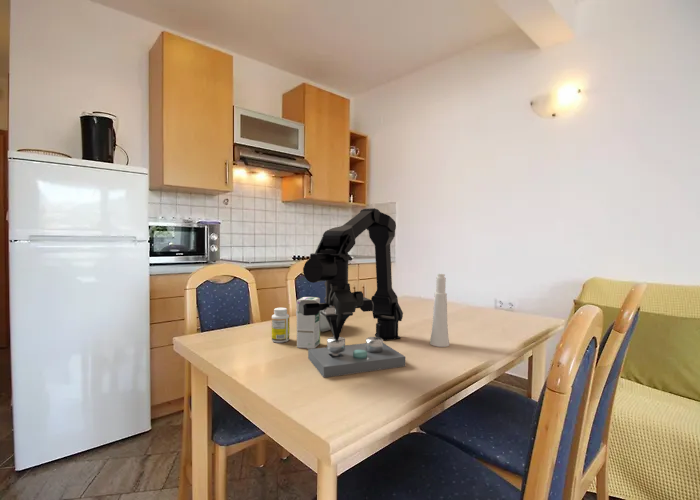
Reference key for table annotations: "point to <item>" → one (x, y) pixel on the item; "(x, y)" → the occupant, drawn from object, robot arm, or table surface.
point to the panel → (354, 360)
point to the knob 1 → (335, 346)
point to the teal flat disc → (360, 354)
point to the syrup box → (308, 327)
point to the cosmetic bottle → (440, 315)
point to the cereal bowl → (322, 323)
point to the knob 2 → (374, 344)
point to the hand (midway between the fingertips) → (336, 339)
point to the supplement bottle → (280, 325)
